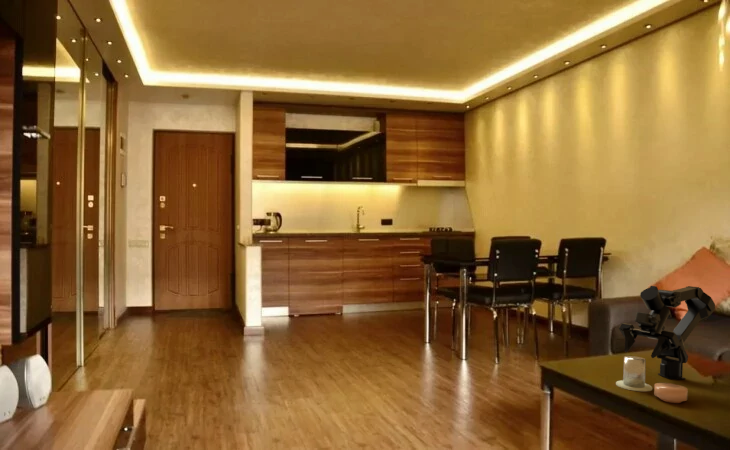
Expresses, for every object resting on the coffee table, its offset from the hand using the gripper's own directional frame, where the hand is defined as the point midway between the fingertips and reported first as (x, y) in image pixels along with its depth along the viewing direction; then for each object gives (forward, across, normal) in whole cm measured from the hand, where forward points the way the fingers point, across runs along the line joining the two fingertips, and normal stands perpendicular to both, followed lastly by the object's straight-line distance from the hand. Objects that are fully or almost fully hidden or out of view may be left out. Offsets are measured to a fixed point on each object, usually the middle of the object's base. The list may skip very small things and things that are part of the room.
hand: (638, 354), depth 186 cm
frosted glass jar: (+9, 0, +6) cm, 10 cm away
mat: (+9, 0, +6) cm, 11 cm away
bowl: (+12, +14, +3) cm, 18 cm away
